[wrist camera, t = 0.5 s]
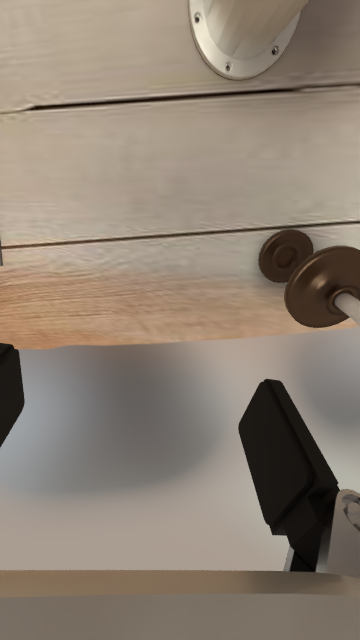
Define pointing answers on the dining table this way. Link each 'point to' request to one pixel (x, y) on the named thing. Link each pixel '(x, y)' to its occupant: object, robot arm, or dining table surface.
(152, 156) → the dining table surface
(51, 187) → the dining table surface
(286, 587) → the robot arm
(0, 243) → the mat
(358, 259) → the candlestick
